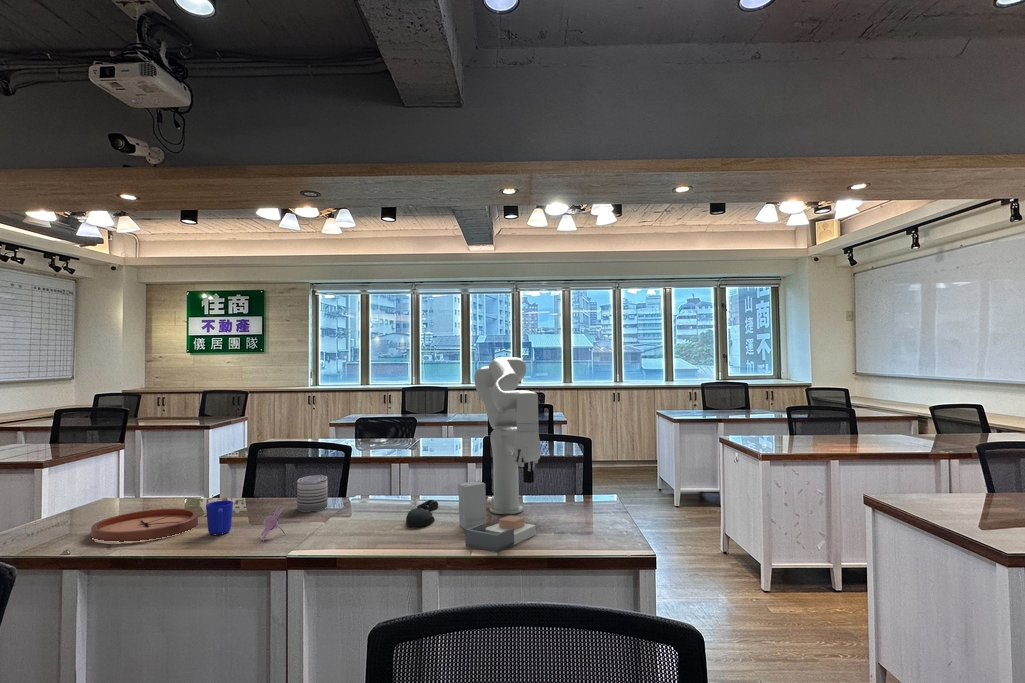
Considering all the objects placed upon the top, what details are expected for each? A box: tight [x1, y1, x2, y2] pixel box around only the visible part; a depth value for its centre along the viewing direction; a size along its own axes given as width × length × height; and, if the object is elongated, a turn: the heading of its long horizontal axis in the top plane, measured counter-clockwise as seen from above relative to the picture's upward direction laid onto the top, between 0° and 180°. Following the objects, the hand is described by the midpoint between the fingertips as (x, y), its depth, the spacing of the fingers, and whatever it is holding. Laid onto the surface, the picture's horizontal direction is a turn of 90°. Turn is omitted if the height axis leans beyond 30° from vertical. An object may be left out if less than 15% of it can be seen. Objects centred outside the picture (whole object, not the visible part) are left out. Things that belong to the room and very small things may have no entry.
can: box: [296, 474, 329, 513], centre depth 233 cm, size 11×11×12 cm
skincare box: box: [457, 480, 487, 530], centre depth 205 cm, size 8×6×15 cm
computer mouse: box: [405, 499, 439, 529], centre depth 219 cm, size 10×32×6 cm, turn 179°
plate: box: [486, 522, 537, 546], centre depth 192 cm, size 12×12×3 cm
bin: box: [464, 522, 514, 554], centre depth 183 cm, size 12×9×5 cm
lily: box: [260, 506, 286, 542], centre depth 196 cm, size 12×12×10 cm
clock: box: [90, 507, 199, 542], centre depth 206 cm, size 31×4×31 cm
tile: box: [498, 514, 526, 530], centre depth 193 cm, size 6×6×2 cm
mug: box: [205, 500, 234, 535], centre depth 199 cm, size 8×12×10 cm
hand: (528, 482), depth 201 cm, fingers closed
